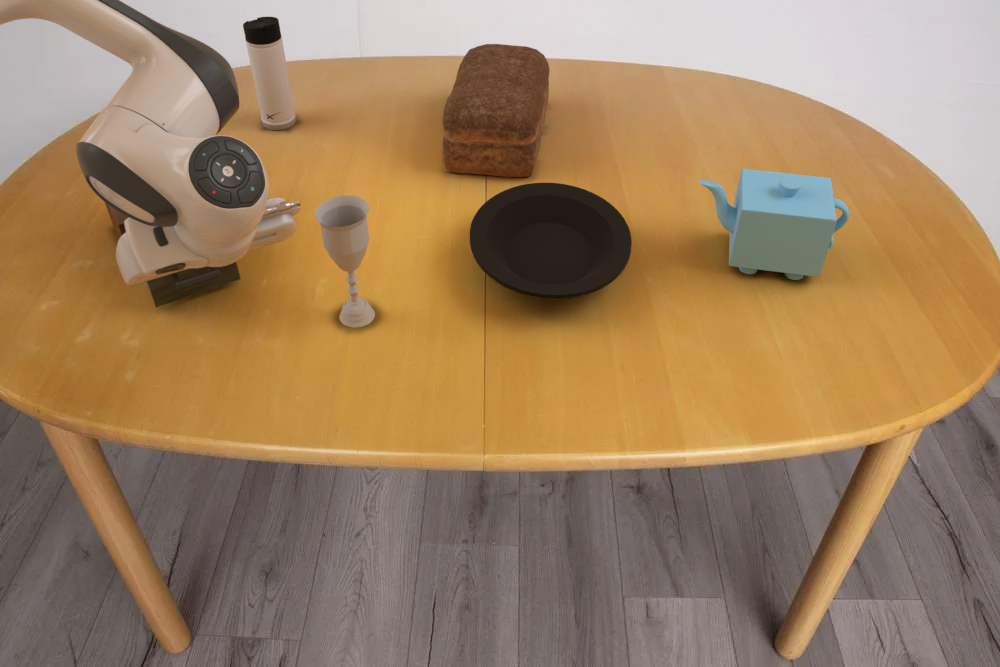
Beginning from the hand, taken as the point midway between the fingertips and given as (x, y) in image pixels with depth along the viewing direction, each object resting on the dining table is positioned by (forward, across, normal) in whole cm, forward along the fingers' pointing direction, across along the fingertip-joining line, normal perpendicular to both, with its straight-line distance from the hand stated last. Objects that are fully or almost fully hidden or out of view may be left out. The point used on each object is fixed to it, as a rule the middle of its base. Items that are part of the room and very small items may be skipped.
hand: (204, 259), depth 108 cm
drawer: (+23, -1, -4) cm, 24 cm away
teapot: (-5, -77, +25) cm, 81 cm away
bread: (+29, -62, -14) cm, 70 cm away
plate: (+6, -48, +14) cm, 51 cm away
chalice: (+10, -18, +12) cm, 24 cm away
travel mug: (+47, -30, -33) cm, 65 cm away
